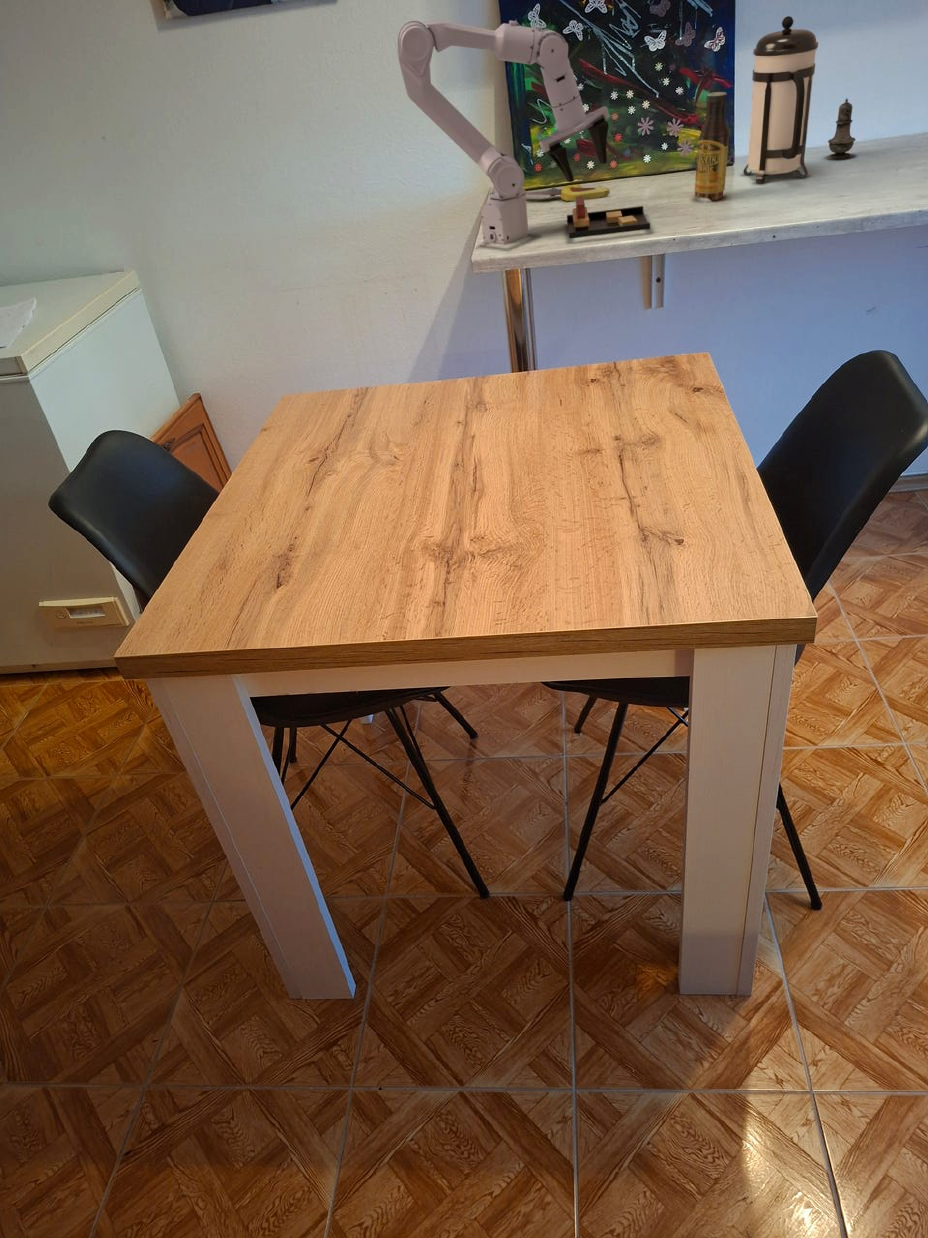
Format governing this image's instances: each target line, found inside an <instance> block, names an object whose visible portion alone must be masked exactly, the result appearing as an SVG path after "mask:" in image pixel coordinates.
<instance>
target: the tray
mask: <svg viewBox="0 0 928 1238" xmlns="http://www.w3.org/2000/svg"><path fill="white" fill-rule="evenodd" d="M614 211H621V214H622V217H626V216H633V217H634V218H635V219H636V220H637V224H632V225H624V226H620V225H619V224H618V222H615V223H607V219H606V212H614ZM588 217H589V226H588V229H589V230H581V231H575V227H574V221H573V215H572V214H567V215H566V223H567V230H568V238H569V239H577V238H584V237H585V238H586V237H593V236H603V235H609V234H610V235H611V234H619V233H628V232H636V231H644V230H650V229H651V223H650V222H648V221H647V217H646V215H645V212H644V205H639V206H631V207H623V208H615V209H605V210H597V211H590V212H589V211H588Z"/></svg>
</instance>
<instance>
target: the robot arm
mask: <svg viewBox="0 0 928 1238" xmlns="http://www.w3.org/2000/svg"><path fill="white" fill-rule="evenodd" d="M424 23H425V24H424ZM424 23H423V22H421V21H419V20H410V21H408V22H406V23H404V24H403V25H402V27H401V28H400V30H399V32H398V36H397V59H398V63H399V68H400V72H401V75H402V79H403V84H404V88H405V91H406V95H407V97H408V98H409V99H410V100H411V102H413V103H414V104H415V105H416V107H417V108H418V109H420V110H421V112H423V113H424V114H425V115H426V116H427V117H428V118H429V119H430V120H431V121H432V122H433V123H434V124H435V125H436V126H437V127H438V128H439V129H440V130H441V131H442V132H443V133H444V134H446V136H447V137H449V139H451V140H452V141H453V143H454V144H456V146H458V147H459V148H460V150H462V151H463V152H464V153H465V154H466V155H467V156H468V157H469V158H470V159H471V160H472V161H473V162H474V163H475V164H476V165H477V166H478V167H479V168H480V169H481V170H482V172H483V173H484V174H485V175H486V176H487V177H488V178H489V180H490V182H491V183H492V185H493V187H492V189H491V191H490V193H489V197H490V198H489V200H488V201H487V202H486V203H485V204H484V205H483V206H482V207H481V211H480V220H481V232H482V238H483V239H482V240H483V241H482V242H481V243H480V245H481V246H482V247H483V246H484V247H485V246H486V243H488V244H495V245H502V246H503V245H504V246H505V245H508V244H510V243H512V242H515V241H518V240H521V239H524V238H526V237H528V236H529V234H530V233H529V222H528V221H529V220H528V209H527V197H526V194H525V192H526V189H525V188H524V185H525V174H524V171H523V169H522V168H521V166H519V163H518V161H517V160H516V158H514V156H512V155H510V154H506V153H503V152H502V151H501V150H499V149H498V147H497V146H495V145H494V144H492V142H490V141H489V139H487V138H486V137H485V136H484V134H482V132H481V131H479V130H478V128H476V126H474V124H473V123H472V122H470V121H469V120H468V119H467V118H466V116H465V115H463V114H462V113H461V112H460V111H459V110H458V109H457V107H455V106H454V105H453V104H452V103H451V102H450V101H449V100H448V99H447V98H446V97H445V96H444V95H443V94H442V93H441V92H440V91H439V90H438V89H437V87H435V86H434V85H433V84H432V81H431V79H432V77H431V67H430V66H431V62H432V58H433V53H434V49H435V51H436V52H437V53H440V52H443V51H444V50H446V49H448V48H450V47H461V48H470V49H478V50H488V51H492V52H493V53H494V55H495V56H496V58H497V59H498V60H499V61H505V62H510V63H517V64H524V65H529V66H531V65H533V64H535V63H536V64H538V65H539V66H540V67H539V68H540V71H541V75H542V77H543V84H544V88H545V91H546V94H547V98H548V100H549V104H550V107H551V110H552V112H553V116H554V120H555V123H556V126H557V130H555V131H554V132H552V133H551V134H549V135H548V136H546V137H545V138H543V139H542V140H540V141H539V142H538V143H539V148H540V150H541V152H542V153H546V154H547V156H548V157H550V159H552V161H553V162H554V163H555V164H556V165H557V166H558V168H559V169H560V171H561V172H562V174H563V176H564V178H565V180H566V181H567V183H573V182H575V179H574V174H573V172H572V168H571V166H570V161H569V158H568V153H567V147H564V146H563V145H562V144H563V143H564V142H567V140H570V139H571V138H573V137H574V136H576V135H579V134H580V133H582V132H584V131H586V130H587V131H588V132H589V135H590V137H591V139H592V142H593V145H594V148H595V151H596V156H597V158H598V161H599V163H600V164H603V165H606V164H607V163H608V159H607V139H608V131H609V127H610V126H609V125H610V124H609V122H608V121H607V119H609V118H610V112H609V109H608V107H607V106H601V107H599V108H598V109H595V110H594V111H592V112H589V113H587V114H586V111H585V108H584V104H583V101H582V97H581V95H580V91H579V87H578V84H577V81H576V77H575V74H574V70H573V68H572V67H571V63H570V62H571V61H570V59H569V57H568V55H569V43H568V42H567V40H566V39H565V38H564V36H563V35H561V33H559V32H557V31H554V30H551V29H549V28H544V29H543V26H541V25H536V27H531V26H530V27H529V26H523V25H518V22H517V21H516V20H509V21H508V23H502V24H500V26H498V27H497V28H496V29H495V30H492V29H488V28H483V27H477V26H472V25H466V24H462V23H457V22H451V21H446V20H425V21H424Z"/></svg>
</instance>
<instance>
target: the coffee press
mask: <svg viewBox="0 0 928 1238" xmlns="http://www.w3.org/2000/svg"><path fill="white" fill-rule="evenodd" d="M793 25H794V19H793V17H792V16H790V15H787V16H786V17H785V16H784V18H783V19H782V21H781V26H782V28H783V29H782V30H779V31H774V32H770V33H768V34H765V35H764V36H762V37H761V38H760V39H758V41H757V43H756V45H755V48H753V51H752V54H753V57H754V67H753V69H752V79H751V80H752V81H753V82H752V93H751V95H752V96H751V112H750V125H749V140H748V141H749V142H748V154H747V155H748V156H747V157H748V158H747V165H746V166H745V167H744V169H743V171H742V173H743V175H744V176H749V175H750V174H752V173H754V174H757V175H756V178H755V183H756V184H762V185H763V184H764V183H765V181H766V179H767V177H768V176H769V175H779V174H780V175H781V174H787V173H795V174H796V175H797V176H798V177H799V178H800V179H803V178H805V177H807V176H808V174H809V170H808V168H807V166H806V164H805V155H806V149H807V139H808V130H809V129H808V128H809V119H810V118H809V117H810V110H811V100H812V89H813V79H814V75H815V72H816V71H815V70H816V62H815V61H816V51H817V50H818V47H819V42H818V41H817V37H816V35H815V33H814V32H812V31H811V30H808V29H801V28H800V29H798V28H797V29H796V28H795V29H792V28H791V27H793ZM800 168H801V169H802V171H803V173H804V175H803V173H802V172H801V171H800V170H799V169H800ZM748 170H750V171H749V172H748Z"/></svg>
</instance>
